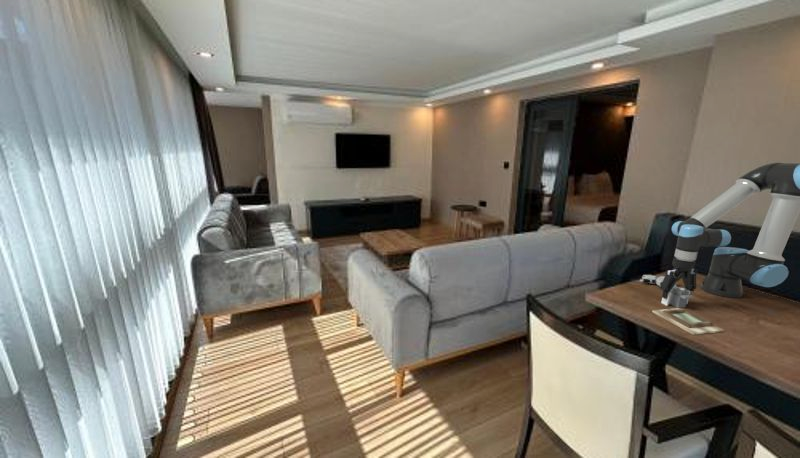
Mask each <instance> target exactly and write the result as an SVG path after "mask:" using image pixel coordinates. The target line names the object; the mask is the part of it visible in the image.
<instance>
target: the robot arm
mask: <svg viewBox="0 0 800 458" xmlns="http://www.w3.org/2000/svg"><path fill="white" fill-rule="evenodd" d="M765 190H770V192H769V194H770V196H772V201H771V203H770V205H769V208H768V211H767V213H766V216H765V218H764V220H763V223H762V226H761V228H760V231H759V234H758V236H757V239H756V241H755V243H754V246H753V248H752V249H750V250H748V249H746V248H740V247H733V246H732V247H731V246H728V245H729V244H730V243H731V242H732V241H731V240H732V236H731V233H730V232H729V231H728V230H726V229H716V228H715V229H714V228H709V227H710V225H712V224H714V223H715V222H717V221H718V220H719V219H721V218H722V217H724V216H725V215H726V214H727V213H729V212H730V211H732V210H733V209H735V207H737V206H739V205H740V204H741V203H742V202H744V201H745V200H747V199H748V198H750V197H751V196H752V195H758V194H759V193H761V192H762V191H765ZM799 214H800V163H795V162H794V163H791V162H789V163H788V162H771V163H767V164H763V165H761V166H758V167H756V168H754V169H752V170H750V171H748V172H747V173H745V174H744V175H742V176H740V177H739V178H738V179H736V180H735V184H733V185H732V186H731V187H730V188H728V189H727V190H725V191H724V192H723V193H721V194H720V195H719V196H717V197H716V198H714V199H713V200H712V201H711V202H709V203H707V205H705V206H704V207H703V208H701V209H700V210H698V211H697V212H696V213H694V214H692V216H690V217H689V218H688V219H686V220H685V221H684V220H679V221H675V222H674V223H673V224H672V226H671V232H672V234H673V235H674V236H677V240H676V241H677V242H676V246H675V251H674V255H673V256H674V257H673V259H672V262H671V263H672V266H673V268H672V270H669V269H666V271H665V275H664V276H665V277H664V279H663V282H662V284H661V286H659V288H658V289H659V290H660V291H662V296H661V297H662V298H661V302H660V303H661V304H663V305H664V306H667V307H669V305H670V304H669V299H670V295H671V293H670V291H671V289H672V288H673V286H674V285H675V284H676V282H677V283H678V281H680V280H681V279H682V281H683V286H684V288H685V290H687V291H689V295H691V293H692V292H694V291H695V290H697V274H698V270H697V269H695V265H696V260H697V258H698V253H699V249H700V247H712V248H713V247H714V248H715V247H716V248H715V249H714V252H713V254H712V258H711V261H710V266H709V271H708V273H707V275H706V277H705V278H704V279H703V280H702V282H700V283H701V284H700V288H701V290H703V291H705V292H708V293H710V294H712V295H717V296H720V297H723V298H731V299H738V298H742V297H743V294H744V289H743V285H742V280H744V281H745V282H746V281H747V282H749V283H751V284H752V285H756V286H758V287H759V286H760V287H763V288H772V287H777V286H778V285H780V284H782V283H783V282H784V281H785V280H786V279H787V278H788V276H789V273H790V272H789V270H788V267H787V266H786V265H784V263H785V261H786V259H785V258H784V257H783V255H782V254H783V252H784V250H785V247H786V245H787V242H788V240H789V237H790V235H791V234H792V231H793V228H794V226H795V224H796V222H797V220H798V217H799ZM667 289H668V290H667ZM688 303H689V299H687V303H686V305H688Z"/></svg>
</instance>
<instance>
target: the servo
mask: <svg viewBox="0 0 800 458" xmlns="http://www.w3.org/2000/svg"><path fill="white" fill-rule="evenodd" d="M667 290H668V289H667ZM670 293H671V295H670V299H669V304H668V305H671V306H673V307H676V308H680V309H685V308H686V306H687V304H686V303H687V299H691V300H692V299H694V296H693V295H691V294H690V295H689V291H687V290H685V287H683V286H678V285H677V286H675V285H674V286H673V288H672V289H671V291H670Z"/></svg>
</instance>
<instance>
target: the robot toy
mask: <svg viewBox="0 0 800 458" xmlns="http://www.w3.org/2000/svg"><path fill="white" fill-rule="evenodd" d="M664 277H665V275H661V276H658V277H657V276H656V275H652V274H643V275H642V276H641V277H640V279H639V282H642V283H644V284H648V283H649V285H650V284H651V285H652V284H653V285H655V284H656V285H657V286H659V287H660V286H661V284H662V282H663V279H664ZM675 286H678V281H677V282H676V284H675Z"/></svg>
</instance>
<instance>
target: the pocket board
mask: <svg viewBox="0 0 800 458" xmlns="http://www.w3.org/2000/svg"><path fill="white" fill-rule="evenodd" d="M652 313H653V314H655V315H656V316H658V317H660V318H662V319H664V320H666V321H667V322H670V323H672V324H673V325H675V326H676V327H679V328H681V329H682V330H684V331H686V332H687V333H689V334H691V335H692V336H693V335H694V336H695V335H704V334H714V333H715V334H717V333H724V332H725V329H723V328H721V327H719V326H716V324H714V322H713V321H711V320H709V319H708V318H705V317H703V316H701V315H699V314H697V313H695V312H693V311H690V310H689V309H686V308H677V307H676V308H665V309H653V310H652Z"/></svg>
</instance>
